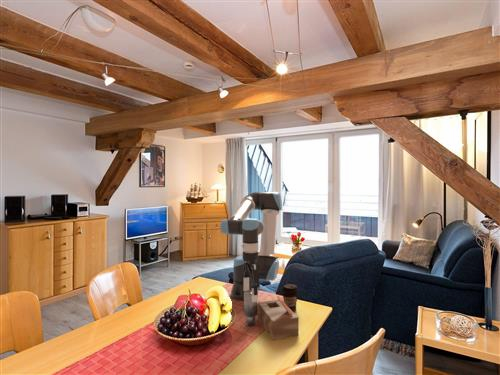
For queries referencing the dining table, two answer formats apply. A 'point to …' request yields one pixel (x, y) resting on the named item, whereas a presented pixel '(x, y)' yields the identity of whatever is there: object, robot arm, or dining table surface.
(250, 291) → the pin
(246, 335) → the dining table surface
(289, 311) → the keeper
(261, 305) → the hitch block
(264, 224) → the robot arm
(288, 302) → the coffee cup
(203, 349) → the dining table surface
